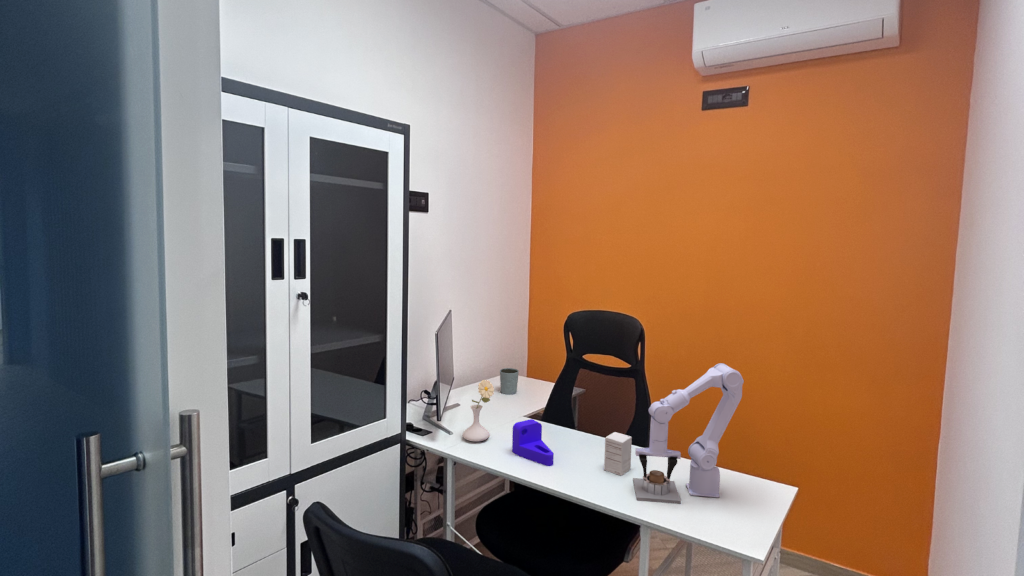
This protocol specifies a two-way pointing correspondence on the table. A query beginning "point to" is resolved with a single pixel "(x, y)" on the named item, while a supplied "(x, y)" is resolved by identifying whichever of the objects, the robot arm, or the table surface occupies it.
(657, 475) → the walnut cap
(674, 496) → the mount plate
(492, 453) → the table surface
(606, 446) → the supplement box
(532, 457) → the bracket
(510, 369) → the green cylindrical pot
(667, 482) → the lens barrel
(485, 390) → the flower in vase
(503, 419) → the table surface
